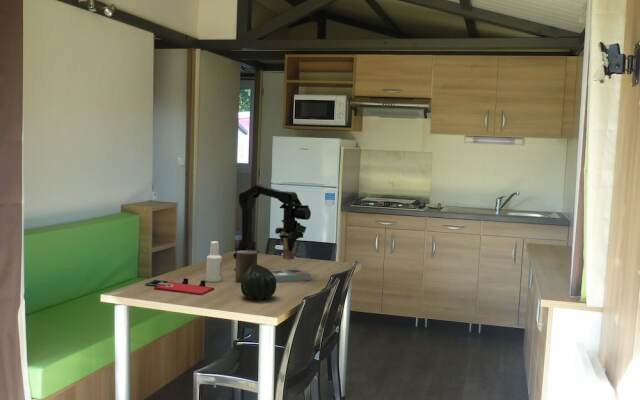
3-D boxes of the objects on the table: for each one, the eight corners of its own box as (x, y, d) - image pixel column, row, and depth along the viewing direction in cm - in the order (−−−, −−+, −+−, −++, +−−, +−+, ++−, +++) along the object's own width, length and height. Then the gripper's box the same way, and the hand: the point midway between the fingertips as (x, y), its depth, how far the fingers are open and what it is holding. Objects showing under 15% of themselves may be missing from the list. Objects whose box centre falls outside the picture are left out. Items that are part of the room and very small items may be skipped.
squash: (288, 287, 243) (272, 256, 249) (261, 293, 232) (245, 261, 238) (270, 304, 251) (254, 274, 257) (243, 311, 240) (228, 280, 246)
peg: (286, 259, 281) (287, 238, 280) (282, 258, 285) (283, 237, 284) (294, 259, 283) (294, 238, 282) (290, 257, 287) (290, 237, 286)
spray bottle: (223, 280, 274) (225, 241, 273) (215, 282, 268) (216, 243, 267) (211, 278, 277) (213, 240, 276) (203, 280, 271) (204, 241, 269)
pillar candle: (252, 284, 269) (254, 251, 268) (232, 281, 271) (233, 249, 270) (258, 279, 279) (260, 248, 278) (239, 278, 281) (240, 246, 280)
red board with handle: (157, 280, 267) (138, 288, 253) (157, 274, 267) (138, 282, 252) (217, 288, 259) (202, 297, 245) (218, 282, 259) (202, 290, 245)
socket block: (276, 282, 274) (276, 275, 274) (264, 276, 286) (265, 269, 285) (310, 280, 283) (310, 273, 283) (297, 274, 295) (298, 267, 294)
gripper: (313, 219, 278) (312, 252, 279) (295, 215, 294) (294, 246, 296) (292, 220, 273) (291, 254, 274) (275, 216, 289) (274, 248, 290)
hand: (288, 250), depth 283 cm, fingers closed on peg, 4 cm apart
